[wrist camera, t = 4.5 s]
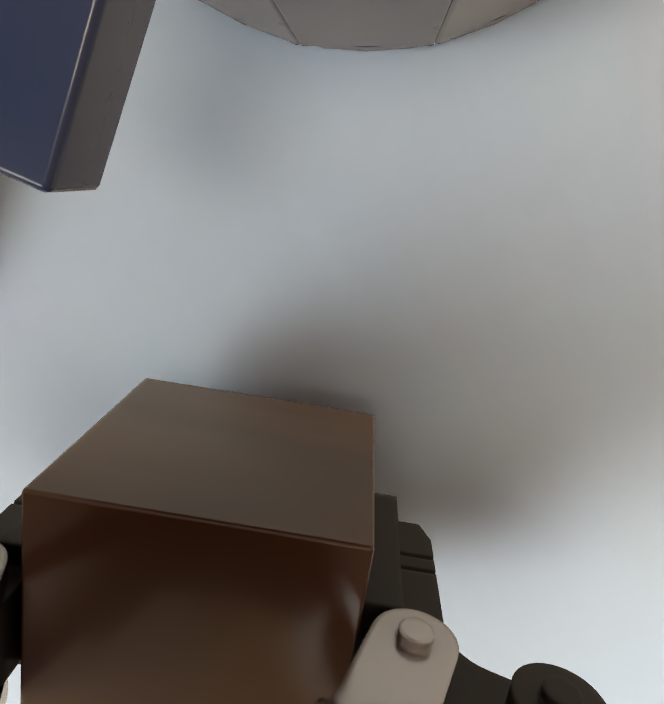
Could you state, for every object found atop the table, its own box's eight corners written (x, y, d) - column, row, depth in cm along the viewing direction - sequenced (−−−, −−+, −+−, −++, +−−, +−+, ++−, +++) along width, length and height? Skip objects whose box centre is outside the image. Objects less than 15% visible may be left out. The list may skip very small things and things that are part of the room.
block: (132, 573, 14) (18, 763, 10) (145, 376, 13) (19, 489, 8) (340, 608, 14) (323, 817, 10) (374, 413, 13) (375, 548, 8)
